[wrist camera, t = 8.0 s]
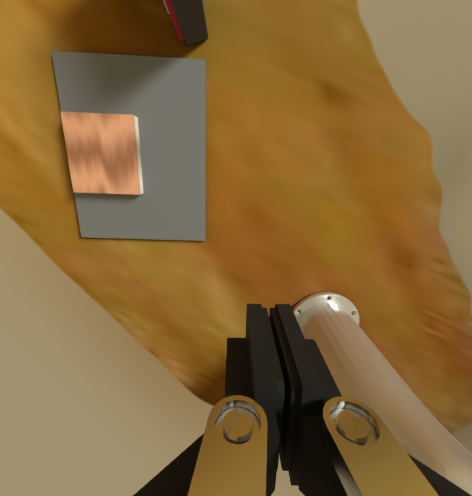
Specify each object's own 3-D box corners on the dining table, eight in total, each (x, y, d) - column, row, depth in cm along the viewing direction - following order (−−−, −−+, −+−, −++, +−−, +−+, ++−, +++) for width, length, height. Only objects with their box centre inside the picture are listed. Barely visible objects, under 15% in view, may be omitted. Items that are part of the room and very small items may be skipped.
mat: (205, 239, 40) (205, 240, 39) (84, 235, 39) (81, 237, 38) (205, 61, 32) (205, 59, 32) (55, 53, 32) (51, 50, 31)
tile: (139, 194, 35) (73, 192, 35) (143, 193, 37) (80, 191, 36) (132, 114, 32) (60, 111, 31) (137, 117, 34) (69, 114, 33)
